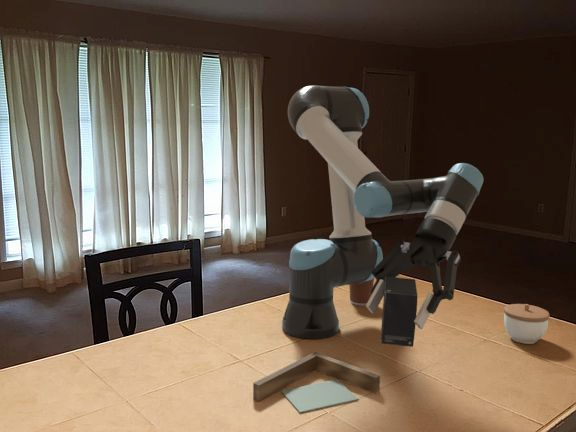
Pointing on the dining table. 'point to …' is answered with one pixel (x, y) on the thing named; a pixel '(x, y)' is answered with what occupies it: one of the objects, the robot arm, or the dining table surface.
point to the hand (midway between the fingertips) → (393, 317)
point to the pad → (319, 395)
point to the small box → (399, 311)
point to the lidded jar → (525, 322)
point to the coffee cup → (361, 292)
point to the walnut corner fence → (307, 367)
